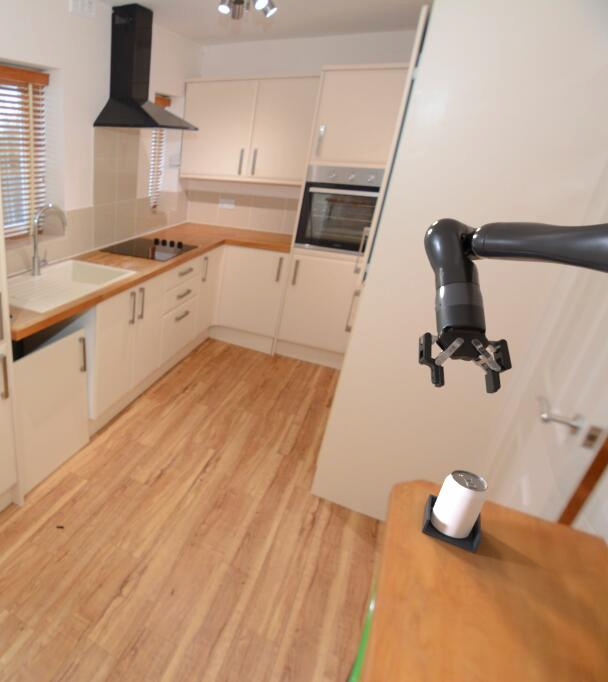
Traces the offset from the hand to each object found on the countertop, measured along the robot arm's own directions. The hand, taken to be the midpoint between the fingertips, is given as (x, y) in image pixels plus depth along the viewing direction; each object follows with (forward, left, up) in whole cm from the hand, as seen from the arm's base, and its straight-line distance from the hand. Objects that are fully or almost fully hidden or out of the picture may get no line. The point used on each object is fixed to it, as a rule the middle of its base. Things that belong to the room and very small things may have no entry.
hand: (465, 389), depth 85 cm
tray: (-5, +4, -28) cm, 29 cm away
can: (-5, +5, -28) cm, 29 cm away
